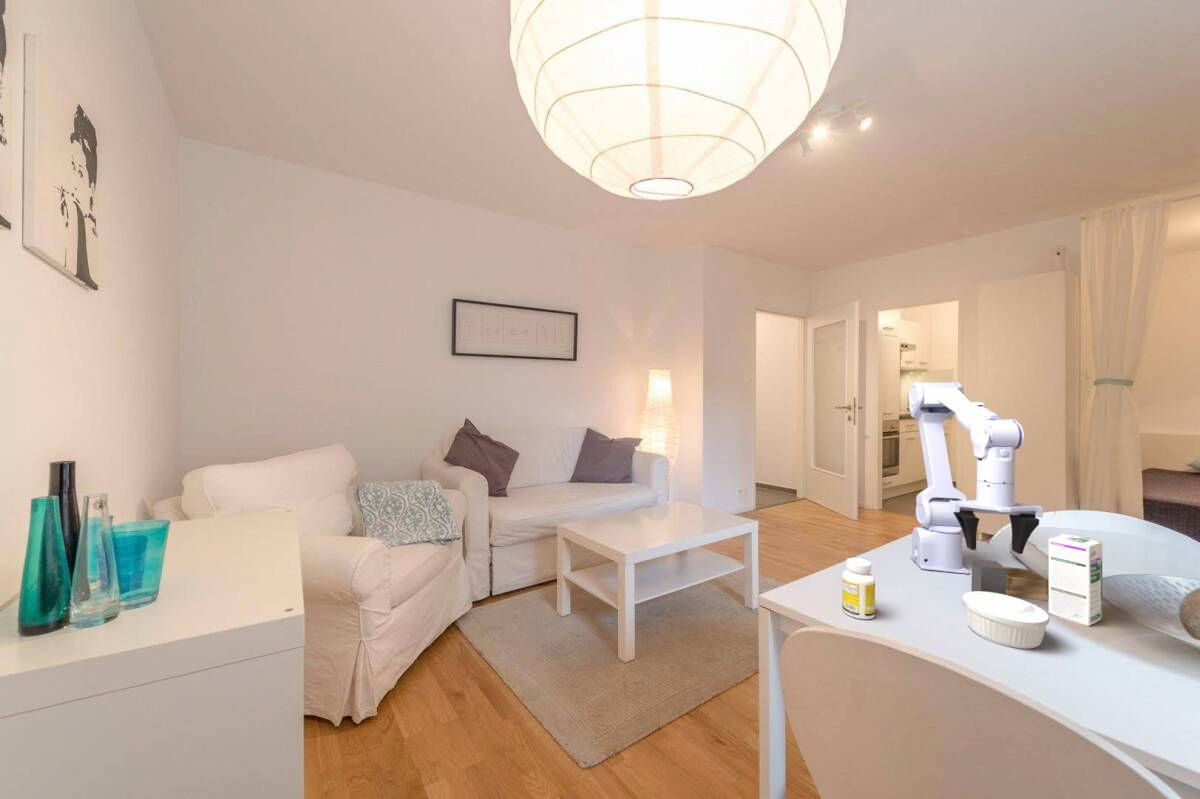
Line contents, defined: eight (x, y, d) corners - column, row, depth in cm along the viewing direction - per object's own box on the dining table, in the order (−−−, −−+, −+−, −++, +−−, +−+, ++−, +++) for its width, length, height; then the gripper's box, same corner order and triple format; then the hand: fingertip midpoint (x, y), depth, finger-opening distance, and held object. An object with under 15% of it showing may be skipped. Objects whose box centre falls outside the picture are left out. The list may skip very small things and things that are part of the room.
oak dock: (1007, 596, 96) (1007, 577, 96) (990, 582, 102) (990, 565, 102) (1051, 600, 94) (1051, 582, 93) (1030, 586, 100) (1031, 569, 100)
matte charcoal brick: (980, 607, 91) (981, 566, 91) (971, 598, 95) (972, 558, 94) (1005, 610, 90) (1006, 568, 89) (995, 601, 93) (996, 561, 93)
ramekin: (1057, 661, 73) (1058, 627, 73) (966, 641, 79) (967, 609, 79) (1038, 630, 82) (1039, 600, 82) (958, 613, 88) (959, 586, 88)
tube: (1097, 583, 93) (1039, 544, 116) (1063, 571, 95) (1013, 534, 118) (1084, 607, 94) (1030, 563, 116) (1051, 594, 96) (1004, 553, 118)
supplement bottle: (871, 609, 90) (872, 558, 90) (878, 622, 85) (878, 568, 85) (840, 604, 92) (840, 555, 92) (844, 617, 87) (845, 565, 86)
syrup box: (1090, 627, 83) (1092, 546, 83) (1046, 613, 88) (1048, 536, 88) (1102, 620, 86) (1104, 541, 85) (1059, 606, 91) (1061, 532, 91)
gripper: (961, 483, 90) (960, 553, 90) (1054, 487, 86) (1052, 561, 86) (945, 476, 97) (944, 542, 97) (1030, 480, 93) (1029, 548, 93)
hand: (994, 550), depth 92 cm, fingers open, 7 cm apart
